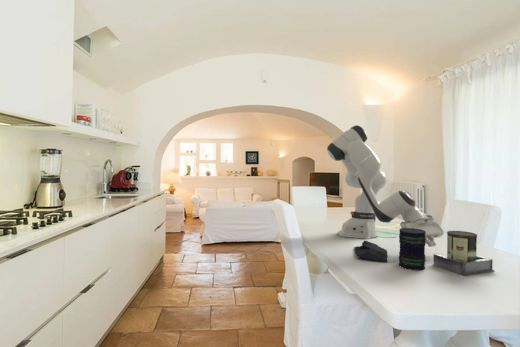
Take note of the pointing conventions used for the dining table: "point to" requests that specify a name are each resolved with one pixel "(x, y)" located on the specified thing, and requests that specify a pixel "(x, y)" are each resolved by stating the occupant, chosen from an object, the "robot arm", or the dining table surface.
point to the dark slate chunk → (371, 252)
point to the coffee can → (461, 245)
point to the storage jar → (412, 248)
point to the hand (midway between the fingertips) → (432, 245)
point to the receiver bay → (464, 265)
